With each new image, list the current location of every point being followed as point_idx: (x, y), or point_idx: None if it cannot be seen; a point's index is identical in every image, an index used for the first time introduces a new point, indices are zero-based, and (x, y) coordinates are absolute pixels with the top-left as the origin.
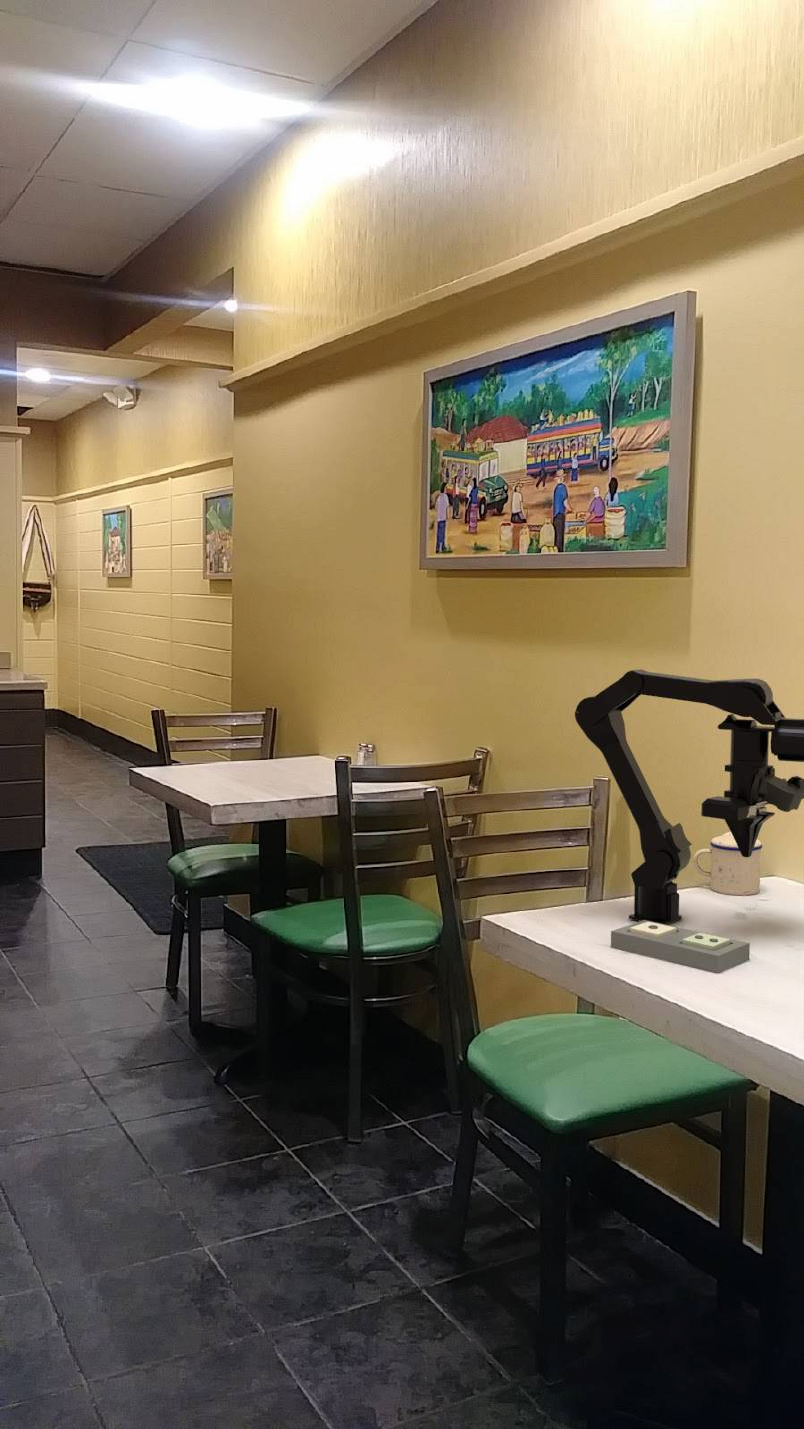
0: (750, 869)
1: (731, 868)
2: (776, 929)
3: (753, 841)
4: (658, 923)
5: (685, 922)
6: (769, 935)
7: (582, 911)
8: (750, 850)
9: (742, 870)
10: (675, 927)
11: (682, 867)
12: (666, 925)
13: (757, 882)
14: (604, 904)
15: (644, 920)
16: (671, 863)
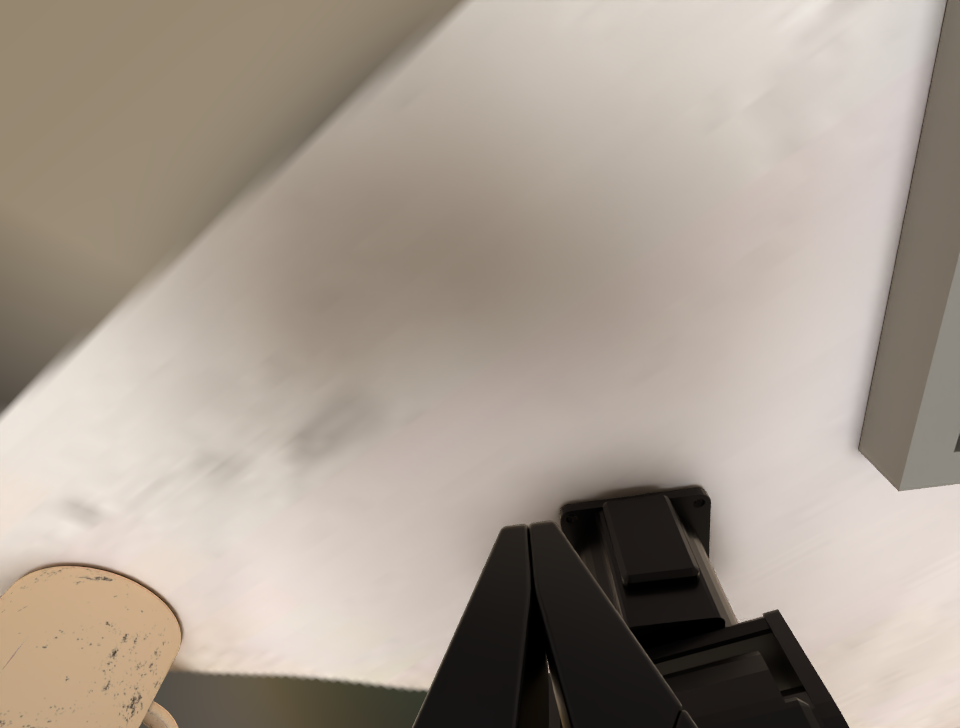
0: (19, 657)
1: (99, 690)
2: (355, 216)
3: (515, 661)
4: (919, 432)
5: (583, 476)
6: (468, 167)
7: None
8: (543, 567)
9: (61, 664)
10: (944, 355)
11: (690, 690)
12: (934, 395)
13: (18, 600)
14: None
15: (907, 485)
16: (846, 724)
